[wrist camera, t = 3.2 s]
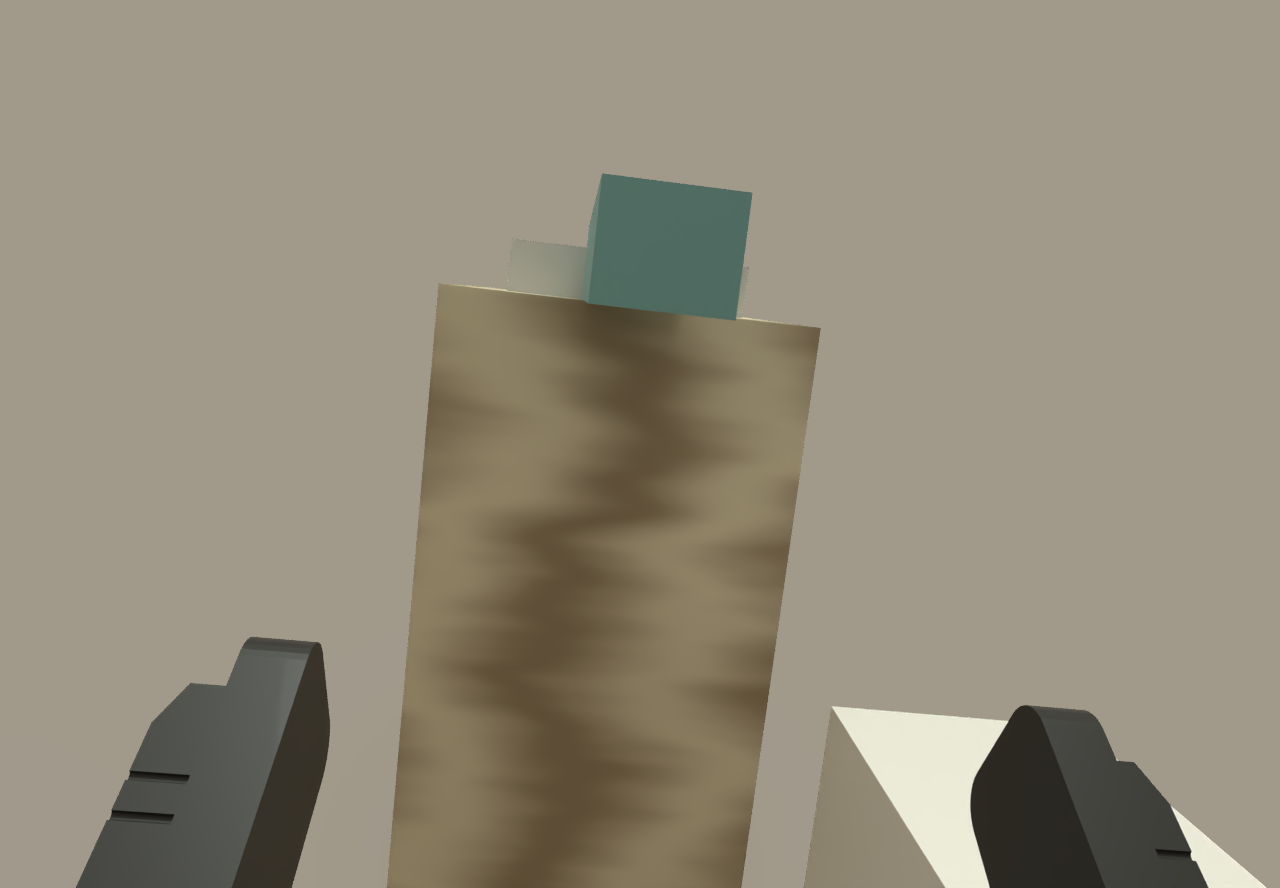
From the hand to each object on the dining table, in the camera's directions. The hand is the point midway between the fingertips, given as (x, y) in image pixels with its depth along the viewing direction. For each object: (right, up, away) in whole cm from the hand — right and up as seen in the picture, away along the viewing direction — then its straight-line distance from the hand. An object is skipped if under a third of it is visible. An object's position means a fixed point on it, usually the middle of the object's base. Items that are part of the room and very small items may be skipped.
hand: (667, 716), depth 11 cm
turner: (-1, +7, +16) cm, 17 cm away
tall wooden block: (-5, -24, +25) cm, 34 cm away
